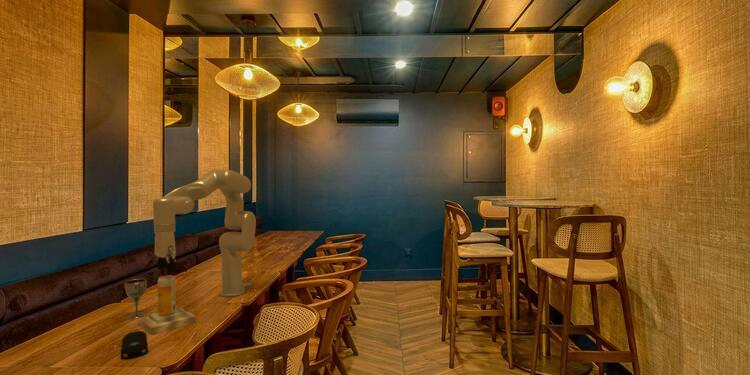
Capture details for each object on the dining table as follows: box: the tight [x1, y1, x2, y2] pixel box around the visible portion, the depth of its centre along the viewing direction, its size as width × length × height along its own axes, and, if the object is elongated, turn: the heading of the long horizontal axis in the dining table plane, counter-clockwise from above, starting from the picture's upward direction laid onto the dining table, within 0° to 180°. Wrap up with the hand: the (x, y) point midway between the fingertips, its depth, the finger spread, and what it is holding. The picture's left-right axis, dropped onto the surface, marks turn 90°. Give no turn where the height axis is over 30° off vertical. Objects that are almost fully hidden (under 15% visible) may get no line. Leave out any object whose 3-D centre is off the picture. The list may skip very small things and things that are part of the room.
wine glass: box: [124, 278, 148, 319], centre depth 157 cm, size 8×8×15 cm
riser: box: [137, 307, 197, 336], centre depth 147 cm, size 16×16×4 cm
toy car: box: [120, 329, 149, 360], centre depth 125 cm, size 8×17×5 cm, turn 34°
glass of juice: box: [157, 274, 177, 316], centre depth 147 cm, size 6×6×15 cm
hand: (166, 270), depth 147 cm, fingers open, 9 cm apart
